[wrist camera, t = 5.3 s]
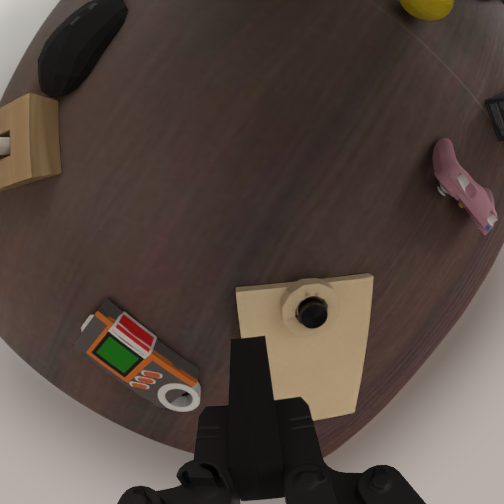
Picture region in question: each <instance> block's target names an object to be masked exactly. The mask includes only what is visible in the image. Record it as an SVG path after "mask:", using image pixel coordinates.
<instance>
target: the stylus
mask: <svg viewBox="0 0 504 504" xmlns="http://www.w3.org/2000/svg"><path fill="white" fill-rule="evenodd" d="M6 154H11V153H10V137H0V155H6Z"/></svg>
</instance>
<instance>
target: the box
mask: <svg viewBox="0 0 504 504" xmlns="http://www.w3.org/2000/svg"><path fill="white" fill-rule="evenodd" d="M486 104H487V107H488V110H489V113H490V116H491V118H492V121H493V124H494V127H495V130H496V134H497V137H498V140H499V141H504V93H501V94H499V95H497V96H494V97H492V98H490V99H487V100H486Z"/></svg>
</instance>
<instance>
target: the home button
mask: <svg viewBox="0 0 504 504" xmlns="http://www.w3.org/2000/svg"><path fill="white" fill-rule="evenodd" d="M298 315H299V317H300V320H301V323H302V324H303V325H304V326H305V327H307V328H310V329H314V328H318V327H320V326H322V325H323V324H324V323H325V322H326V320H327V317H328V312H327V310H326V308H325V306H324V304H323V303H322V301H321V300H319V299H317V298H308V299H306V300H304V301H303V302H302V303H301V304H300V306H299V308H298Z"/></svg>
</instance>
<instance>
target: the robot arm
mask: <svg viewBox="0 0 504 504" xmlns="http://www.w3.org/2000/svg"><path fill="white" fill-rule="evenodd" d="M502 3H503V4H504V0H502ZM177 478H178V479H179V481H180V482H181V484H182V485H180V486H178V487H174V488H170V489H166V490H160V491H155V490H153V489H151V488H149V487H145V486H136V487H132V488H130V489H128V490H126V492H125V493H124V494H123V495H122V496H121V498H120V500H119V502H118V503H117V504H240V499H241V501H248V500H262V499H272V498H282V497H285V502H286V504H426V503H425V502H424V501H423V500H422V498H421V497H420V496H419V495H418V494H417V493H416V491H415V490H414V489H413V488H412V487H411V485H410V484H409V483H408V482H407V481H406V479H405V478H404V477H403V476H402V475H401V473H400V472H399V471H397V470H396V469H395V468H394V467H391V466H387V465H377V466H374V467H371V468H369V469H367V470H366V471H365V472H363V473H343V472H338V471H335V470H333V469H331V468H330V467H328V466H327V465H326V463H325V462H324V460H323V458H322V454H321V450H320V446H319V442H318V438H317V435H316V431H315V427H314V423H313V419H312V416H311V412H310V408H309V405H308V404H307V403H306V402H305V401H304V399H303V398H302V397H301V396H300V397H293V398H287V399H279V400H274V395H273V388H272V381H271V374H270V367H269V360H268V353H267V345H266V338H265V336H258V337H249V338H240V339H231V356H230V383H229V405H227V406H209V407H205V409H204V410H203V412H202V413H201V415H200V416H199V422H198V430H197V439H196V446H195V454H194V460H192V461H190V462H188V463H185V464H184V465H183V466H182V467H181V468H180V469H179V471H178V473H177Z"/></svg>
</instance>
